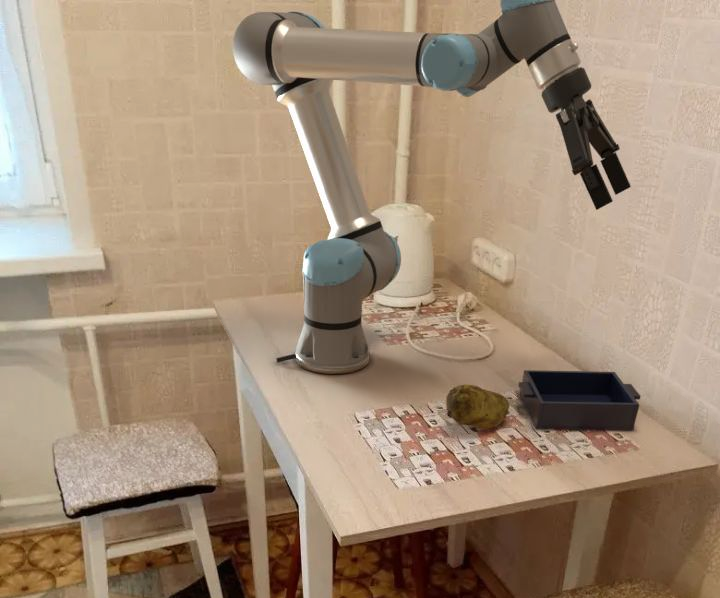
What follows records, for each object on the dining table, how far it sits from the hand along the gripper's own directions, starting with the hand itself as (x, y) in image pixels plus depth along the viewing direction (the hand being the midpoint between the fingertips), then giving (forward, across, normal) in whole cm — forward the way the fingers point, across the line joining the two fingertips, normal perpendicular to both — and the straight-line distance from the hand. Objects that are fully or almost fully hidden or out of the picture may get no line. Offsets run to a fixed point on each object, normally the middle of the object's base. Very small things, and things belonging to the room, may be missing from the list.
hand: (614, 198), depth 126 cm
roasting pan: (+30, -11, +18) cm, 37 cm away
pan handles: (+27, -11, +16) cm, 33 cm away
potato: (+23, -26, +29) cm, 45 cm away
